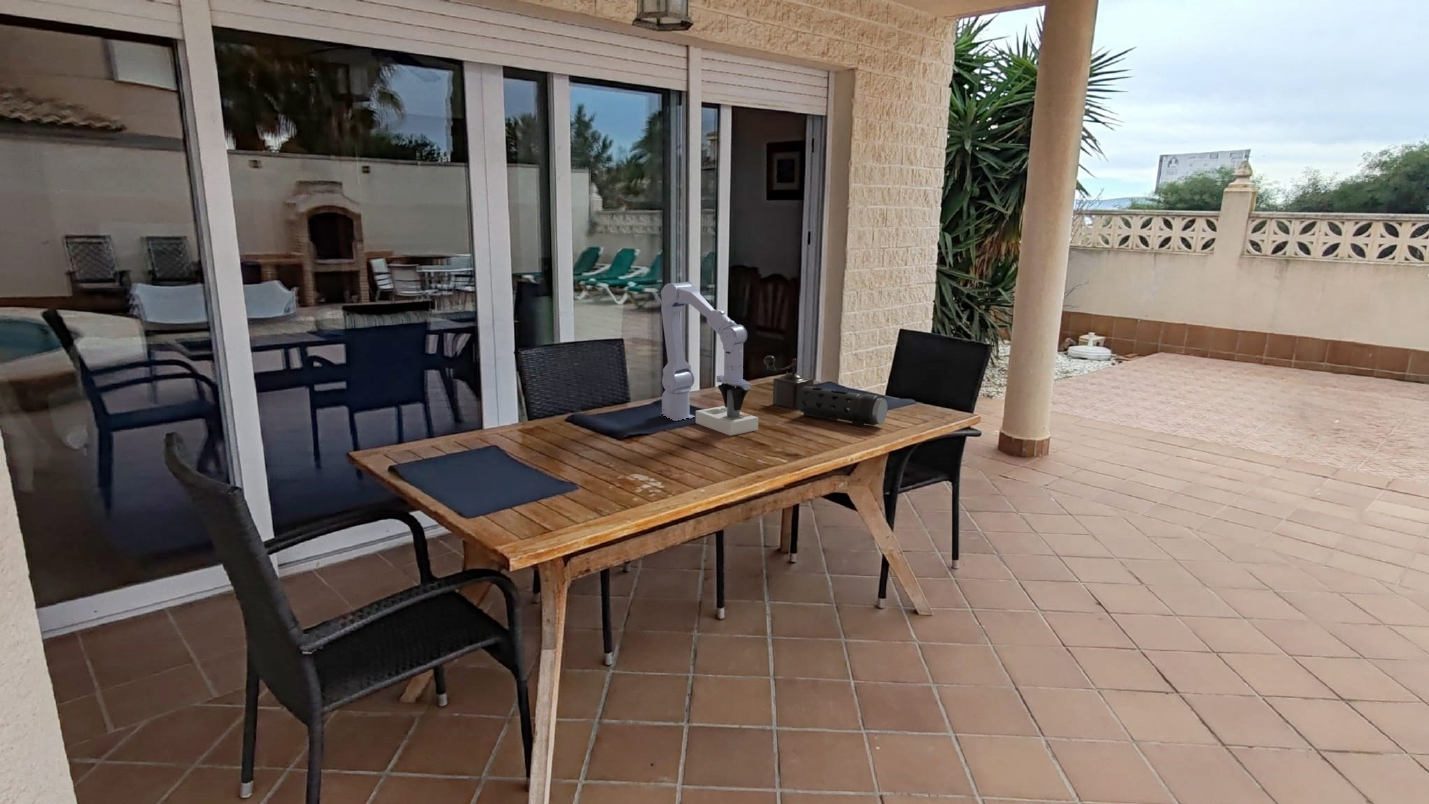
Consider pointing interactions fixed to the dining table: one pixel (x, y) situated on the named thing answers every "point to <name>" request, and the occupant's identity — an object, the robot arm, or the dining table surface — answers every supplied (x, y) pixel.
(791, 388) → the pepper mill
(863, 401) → the muzzle brake
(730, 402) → the peg
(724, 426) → the socket block
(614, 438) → the dining table surface
